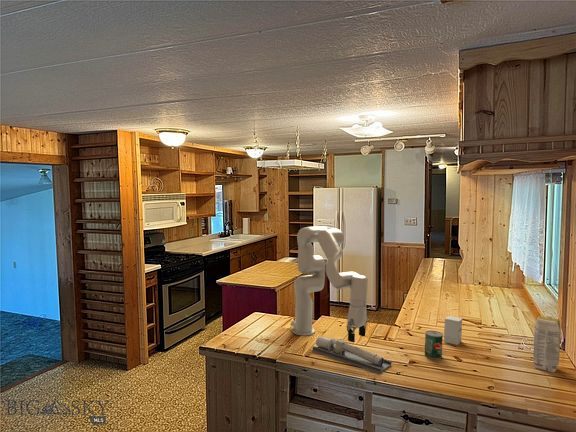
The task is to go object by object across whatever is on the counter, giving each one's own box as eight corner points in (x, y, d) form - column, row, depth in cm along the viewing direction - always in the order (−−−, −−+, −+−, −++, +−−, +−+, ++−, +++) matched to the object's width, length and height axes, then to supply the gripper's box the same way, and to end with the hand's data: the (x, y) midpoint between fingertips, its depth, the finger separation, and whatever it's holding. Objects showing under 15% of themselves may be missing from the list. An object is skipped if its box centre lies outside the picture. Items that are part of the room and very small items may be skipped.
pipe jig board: (312, 351, 189) (312, 337, 188) (325, 345, 197) (325, 332, 197) (380, 374, 165) (380, 358, 165) (391, 365, 174) (391, 351, 173)
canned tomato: (440, 360, 181) (441, 337, 180) (423, 356, 184) (424, 334, 184) (443, 354, 188) (443, 332, 187) (426, 351, 191) (426, 329, 191)
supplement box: (458, 345, 200) (459, 321, 199) (443, 342, 205) (444, 318, 204) (461, 341, 206) (462, 318, 205) (447, 338, 210) (448, 315, 210)
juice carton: (559, 368, 174) (562, 316, 173) (556, 374, 168) (559, 320, 167) (535, 362, 180) (537, 311, 179) (531, 367, 175) (534, 315, 173)
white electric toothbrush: (379, 359, 168) (332, 337, 184) (377, 373, 169) (330, 350, 185) (385, 356, 172) (338, 334, 188) (382, 369, 173) (336, 347, 189)
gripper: (360, 297, 187) (358, 331, 188) (341, 304, 174) (339, 341, 175) (374, 300, 182) (372, 335, 183) (355, 308, 169) (354, 346, 170)
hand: (356, 338), depth 179 cm, fingers open, 9 cm apart
